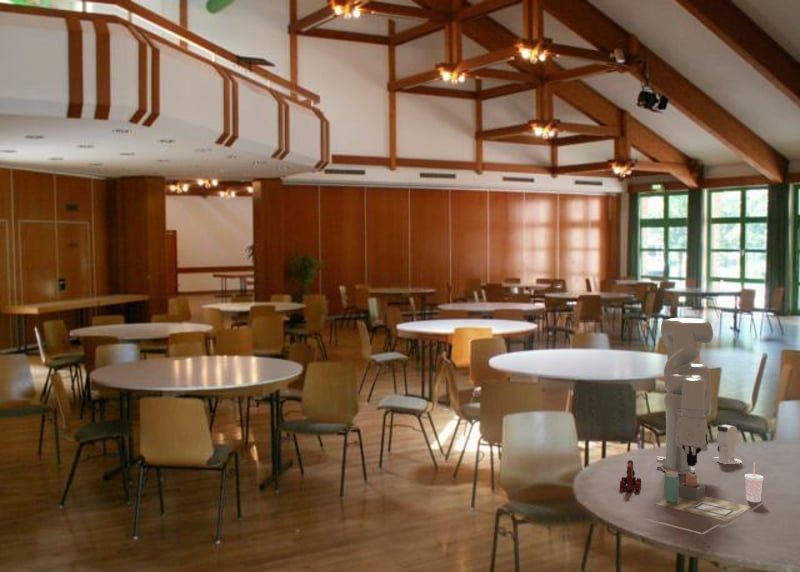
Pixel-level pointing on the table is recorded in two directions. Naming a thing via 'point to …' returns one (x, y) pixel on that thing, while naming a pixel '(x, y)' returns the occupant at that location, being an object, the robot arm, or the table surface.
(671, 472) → the green and white block
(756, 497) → the beverage cup
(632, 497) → the table surface
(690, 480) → the button
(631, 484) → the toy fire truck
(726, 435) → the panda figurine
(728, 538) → the table surface
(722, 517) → the board
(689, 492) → the button housing
